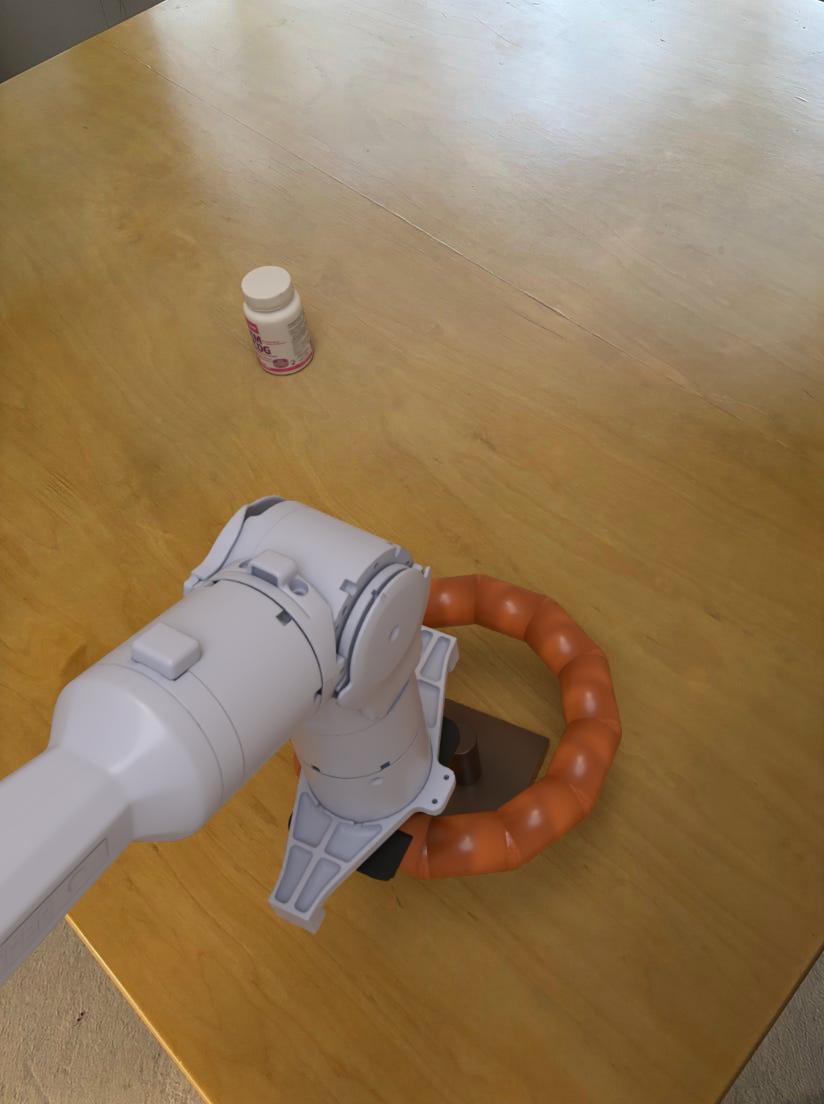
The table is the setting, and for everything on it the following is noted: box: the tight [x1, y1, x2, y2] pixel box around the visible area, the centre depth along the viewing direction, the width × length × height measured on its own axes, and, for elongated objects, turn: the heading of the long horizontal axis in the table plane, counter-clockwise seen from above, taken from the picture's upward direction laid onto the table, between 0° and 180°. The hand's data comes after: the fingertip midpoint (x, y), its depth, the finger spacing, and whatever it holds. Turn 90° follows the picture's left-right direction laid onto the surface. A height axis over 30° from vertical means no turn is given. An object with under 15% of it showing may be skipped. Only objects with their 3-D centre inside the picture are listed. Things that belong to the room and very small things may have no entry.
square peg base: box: [425, 697, 551, 817], centre depth 65 cm, size 8×8×6 cm
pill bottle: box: [240, 265, 314, 376], centre depth 88 cm, size 5×5×8 cm
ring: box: [293, 573, 623, 881], centre depth 60 cm, size 18×18×3 cm
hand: (393, 834), depth 56 cm, fingers closed on ring, 3 cm apart
